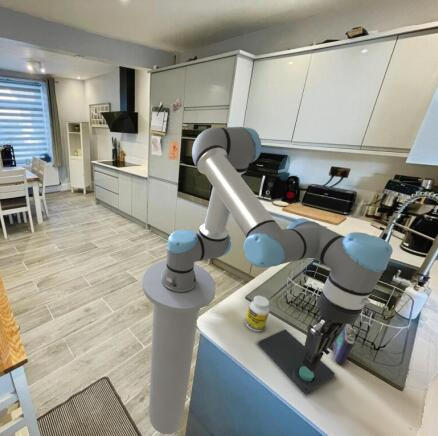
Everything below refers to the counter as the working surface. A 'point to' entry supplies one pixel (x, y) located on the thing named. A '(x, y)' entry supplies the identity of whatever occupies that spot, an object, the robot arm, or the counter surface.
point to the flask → (344, 344)
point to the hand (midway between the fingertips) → (308, 366)
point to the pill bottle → (257, 313)
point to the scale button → (306, 374)
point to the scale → (293, 360)
